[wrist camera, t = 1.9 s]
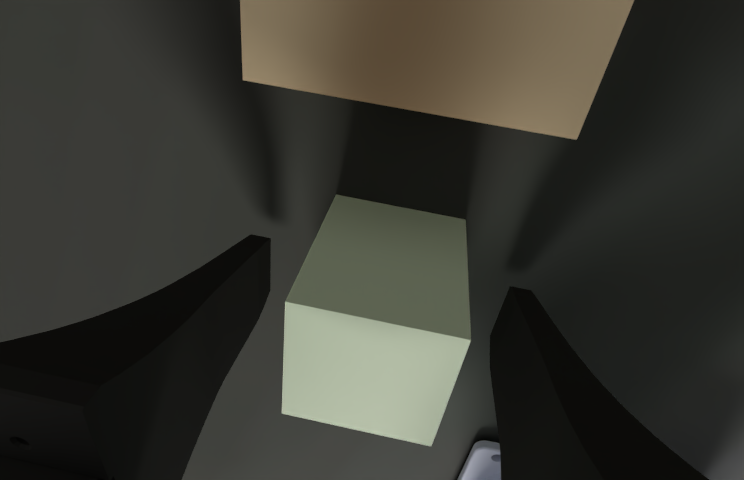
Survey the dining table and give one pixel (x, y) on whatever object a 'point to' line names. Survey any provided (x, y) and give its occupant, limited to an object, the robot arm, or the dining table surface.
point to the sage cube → (378, 321)
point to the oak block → (441, 55)
